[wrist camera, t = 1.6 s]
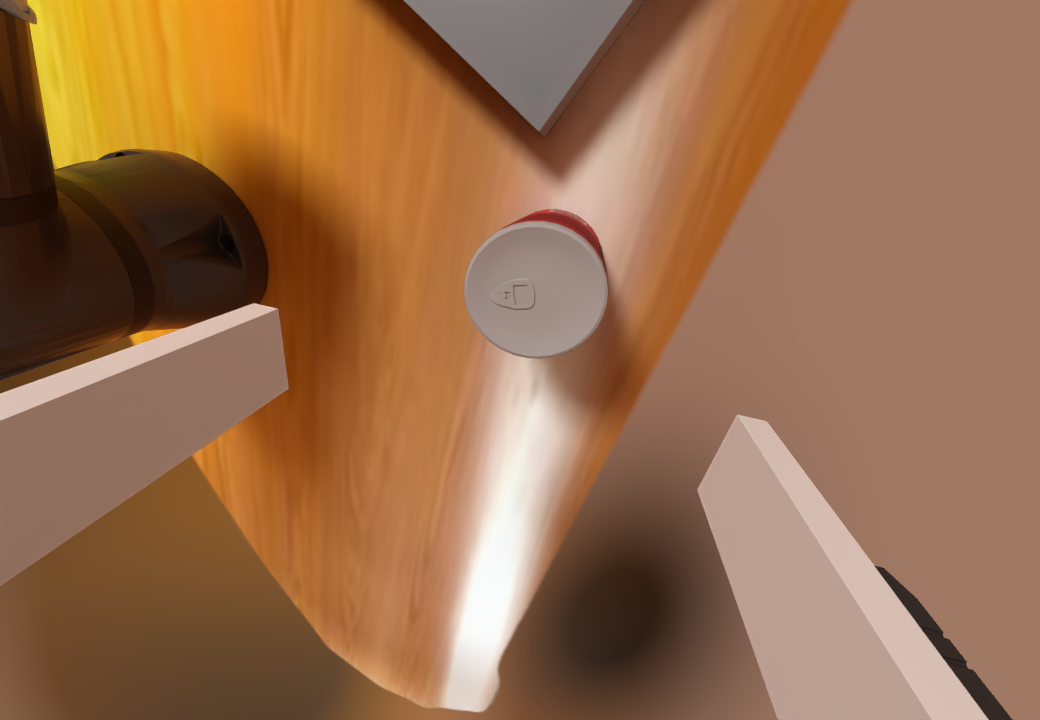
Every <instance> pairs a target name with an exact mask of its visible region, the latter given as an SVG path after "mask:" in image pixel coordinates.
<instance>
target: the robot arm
mask: <svg viewBox="0 0 1040 720" xmlns="http://www.w3.org/2000/svg"><path fill="white" fill-rule="evenodd" d="M29 22H30V23H32V24H37V19H36V14H35V12H34V11H33V10H32V9H31V8H30V7H29V6H28V4H27V0H0V380H3V379H6V378H8V377H11V376H14V375H17V374H20V373H23V372H26V371H29V370H31V369H34V368H37V367H40V366H43V365H46V364H48V363H51V362H54V361H57V360H60V359H63V358H65V357H69V356H71V355H74V354H77V353H80V352H83V351H86V350H89V349H91V348H94V347H97V346H100V345H103V344H106V343H109V342H111V341H114V340H117V339H120V338H123V337H126V336H129V335H132V334H135V333H138V332H141V331H151V330H165V329H179V328H183V329H180V330H178V331H175V332H172V333H169V334H166V335H164V336H161V337H158V338H155V339H152V340H150V341H147V342H144V343H141V344H138V345H136V346H133V347H130V348H127V349H124V350H122V351H119V352H116V353H113V354H110V355H108V356H105V357H102V358H99V359H96V360H94V361H91V362H88V363H85V364H82V365H79V366H77V367H74V368H71V369H68V370H65V371H63V372H60V373H57V374H54V375H52V376H49V377H46V378H43V379H40V380H37V381H35V382H32V383H29V384H26V385H24V386H21V387H18V388H15V389H12V390H10V391H7V392H4V393H1V394H0V586H1V585H2V584H4V583H5V582H7V581H8V580H10V579H11V578H12V577H14V576H15V575H17V574H18V573H20V572H21V571H23V570H24V569H25V568H27V567H29V566H30V565H31V564H33V563H34V562H36V561H37V560H39V559H40V558H42V557H43V556H45V555H46V554H48V553H49V552H51V551H52V550H53V549H55V548H56V547H58V546H59V545H61V544H62V543H64V542H65V541H67V540H68V539H70V538H71V537H72V536H74V535H75V534H77V533H78V532H80V531H81V530H83V529H84V528H86V527H87V526H89V525H90V524H92V523H93V522H95V521H96V520H97V519H98V518H100V517H102V516H103V515H105V514H106V513H108V512H109V511H110V510H112V509H113V508H115V507H116V506H118V505H119V504H121V503H122V502H124V501H125V500H127V499H128V498H130V497H131V496H133V495H134V494H136V493H137V492H138V491H140V490H141V489H143V488H144V487H146V486H147V485H149V484H150V483H152V482H153V481H155V480H156V479H157V478H159V477H160V476H162V475H163V474H165V473H166V472H168V471H169V470H171V469H172V468H174V467H175V466H176V465H178V464H179V463H181V462H182V461H184V460H185V459H187V458H188V457H190V456H191V455H193V454H194V453H196V452H197V451H198V450H200V449H201V448H203V447H204V446H206V445H207V444H209V443H210V442H212V441H213V440H215V439H216V438H218V437H219V436H220V435H222V434H223V433H225V432H226V431H228V430H229V429H231V428H232V427H234V426H235V425H237V424H238V423H239V422H241V421H242V420H244V419H245V418H247V417H248V416H250V415H251V414H253V413H254V412H256V411H257V410H259V409H260V408H261V407H263V406H264V405H266V404H267V403H269V402H270V401H272V400H273V399H275V398H276V397H278V396H279V395H281V394H282V393H283V392H285V391H286V390H288V389H289V385H288V378H287V370H286V363H285V355H284V348H283V340H282V333H281V325H280V318H279V310H278V309H277V308H273V307H269V306H264V305H260V304H259V303H260V301H261V299H262V297H263V295H264V292H265V289H266V284H267V260H266V254H265V250H264V246H263V243H262V240H261V237H260V234H259V232H258V230H257V227H256V225H255V223H254V221H253V220H252V218H251V216H250V214H249V213H248V211H247V210H246V208H245V207H244V205H243V204H242V202H241V201H240V200H239V198H238V197H237V196H236V195H235V193H234V192H233V191H232V190H231V189H230V188H229V187H228V186H227V185H226V184H225V183H224V182H223V181H222V180H221V179H220V178H219V177H218V176H216V175H215V174H214V173H213V172H211V171H210V170H209V169H207V168H206V167H204V166H203V165H201V164H199V163H198V162H196V161H194V160H192V159H190V158H188V157H185V156H183V155H180V154H177V153H173V152H167V151H157V150H143V149H127V150H120V151H116V152H113V153H110V154H107V155H105V156H103V157H101V158H100V159H99V160H96V161H87V162H82V163H77V164H73V165H70V166H66V167H63V168H59V169H56V170H54V168H53V162H52V156H51V150H50V144H49V138H48V132H47V126H46V120H45V115H44V109H43V103H42V97H41V91H40V85H39V79H38V73H37V67H36V61H35V55H34V49H33V43H32V37H31V31H30V24H29ZM697 491H698V493H699V496H700V499H701V502H702V505H703V508H704V510H705V513H706V516H707V519H708V522H709V525H710V528H711V530H712V533H713V536H714V539H715V542H716V545H717V548H718V550H719V553H720V556H721V559H722V562H723V565H724V567H725V570H726V573H727V576H728V579H729V581H730V585H731V587H732V590H733V593H734V596H735V599H736V602H737V605H738V607H739V610H740V613H741V616H742V619H743V622H744V624H745V627H746V630H747V633H748V636H749V639H750V642H751V644H752V647H753V650H754V653H755V656H756V659H757V661H758V664H759V667H760V670H761V673H762V675H763V678H764V681H765V684H766V687H767V690H768V693H769V696H770V698H771V701H772V704H773V707H774V710H775V713H776V716H777V718H778V720H1012V719H1011V718H1010V716H1009V715H1008V714H1007V712H1006V711H1005V710H1004V709H1003V707H1002V706H1001V705H1000V703H999V702H998V701H997V700H996V698H995V697H994V696H993V695H992V693H991V692H990V691H989V689H988V688H987V687H986V686H985V684H984V683H983V682H982V681H981V679H980V678H979V677H978V676H977V674H976V673H975V672H974V671H973V670H971V669H968V668H967V666H966V663H967V662H966V660H965V659H964V658H963V656H962V655H961V654H960V653H959V651H958V650H957V649H956V648H955V646H954V645H953V644H952V643H951V641H950V640H949V639H946V638H944V637H943V631H942V630H941V629H940V628H939V626H938V625H937V624H936V622H935V621H934V620H933V618H932V617H931V616H930V615H929V613H928V612H927V611H926V610H925V608H924V607H923V606H922V604H921V603H920V602H919V601H918V599H917V598H915V596H914V595H912V594H911V593H910V592H909V591H908V590H907V589H906V588H905V587H904V586H903V585H901V584H900V583H899V582H898V581H897V580H896V579H895V578H894V577H893V576H892V575H891V574H890V573H888V572H887V571H886V570H885V569H884V568H881V567H877V566H874V565H873V564H872V562H871V561H870V560H869V558H868V557H867V556H866V554H865V553H864V552H863V550H862V549H861V547H860V546H859V545H858V544H857V542H856V541H855V539H854V538H853V537H852V535H851V534H850V533H849V531H848V530H847V529H846V527H845V526H844V525H843V523H842V522H841V521H840V519H839V518H838V517H837V515H836V514H835V513H834V511H833V510H832V508H831V507H830V506H829V504H828V503H827V502H826V500H825V499H824V498H823V496H822V495H821V494H820V492H819V491H818V490H817V488H816V487H815V486H814V484H813V483H812V482H811V480H810V479H809V478H808V476H807V475H806V474H805V472H804V471H803V470H802V468H801V467H800V465H799V464H798V463H797V461H796V460H795V459H794V457H793V456H792V455H791V453H790V452H789V451H788V449H787V448H786V447H785V445H784V444H783V443H782V441H781V440H780V439H779V437H778V436H777V435H776V433H775V432H774V431H773V429H772V428H771V426H770V425H769V424H768V422H766V421H762V420H758V419H753V418H749V417H745V416H741V415H737V416H736V418H735V420H734V422H733V423H732V425H731V427H730V429H729V431H728V433H727V435H726V437H725V439H724V441H723V443H722V444H721V446H720V448H719V450H718V452H717V454H716V456H715V458H714V459H713V461H712V463H711V465H710V467H709V469H708V471H707V473H706V474H705V476H704V478H703V480H702V482H701V484H700V486H699V488H698V490H697Z"/></svg>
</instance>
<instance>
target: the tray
mask: <svg viewBox="0 0 1040 720" xmlns="http://www.w3.org/2000/svg"><path fill="white" fill-rule="evenodd" d="M403 1H404V2H405V3H406V4H408V5H409V6H410V7H411V8H412V9H413V10H414V11H415V12H416V13H417V14H418V15H419V16H420V17H421V18H422V19H423V20H424V21H425V22H426V23H427V24H428V25H429V26H430V27H431V28H432V29H433V30H434V31H435V32H436V33H437V34H438V35H439V36H440V37H441V38H442V39H444V40H445V41H446V42H447V43H448V44H449V45H450V46H451V47H452V48H453V49H454V50H455V51H456V52H457V53H458V54H459V55H460V56H461V57H462V58H463V59H464V60H465V61H466V62H467V63H468V64H469V65H470V66H471V67H472V68H473V69H474V70H475V71H476V72H477V73H479V74H480V75H481V76H482V77H483V78H484V79H485V80H486V81H487V82H488V83H489V84H490V85H491V86H492V87H493V88H494V89H495V90H496V91H497V92H498V93H499V94H500V95H501V96H502V97H503V98H504V99H505V100H506V101H507V102H508V103H509V104H510V105H511V106H512V107H513V108H515V109H516V110H517V111H518V112H519V113H520V114H521V115H522V116H523V117H524V118H525V119H526V120H527V121H528V122H529V123H530V124H531V125H532V126H533V127H534V128H535V129H536V130H537V131H538V132H539V133H540V134H541V135H542V136H543V137H544V138H545V137H546V135H547V134H548V133H549V131H550V130H551V128H552V127H553V126H554V124H555V123H556V122H557V120H558V119H559V117H560V116H561V115H562V113H563V112H564V111H565V109H566V108H567V106H568V105H569V104H570V102H571V101H572V100H573V98H574V97H575V95H576V94H577V93H578V91H579V90H580V89H581V87H582V86H583V84H584V83H585V82H586V80H587V79H588V78H589V76H590V75H591V73H592V72H593V71H594V69H595V68H596V67H597V65H598V64H599V62H600V61H601V60H602V58H603V57H604V56H605V54H606V53H607V51H608V50H609V49H610V47H611V46H612V45H613V43H614V42H615V41H616V39H617V38H618V36H619V35H620V34H621V32H622V31H623V30H624V28H625V27H626V25H627V24H628V23H629V21H630V20H631V19H632V17H633V16H634V14H635V13H636V12H637V10H638V9H639V8H640V6H641V5H642V3H643V2H644V1H645V0H403Z"/></svg>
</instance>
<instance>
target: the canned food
mask: <svg viewBox="0 0 1040 720" xmlns="http://www.w3.org/2000/svg"><path fill="white" fill-rule="evenodd" d="M608 290H609V288H608V279H607V271H606V266H605V262H604V258H603V253H602V249H601V246H600V243H599V240H598V237H597V236H596V234H595V232H594V231H593V229H592V228H591V227H590V226H589V225H588V224H587V223H586V221H584V220H583V219H581V218H580V217H578V216H577V215H574V214H572V213H570V212H567V211H562V210H557V209H554V210H542V211H537V212H535V213H532V214H530V215H528V216H526V217H524V218H522V219H520V220H518V221H516V222H514V223H512V224H510V225H508V226H506V227H504V228H502V229H501V230H499V231H498V232H497V233H495V234H494V235H492V236H491V237H489V238H488V239H487V240H486V241H485V242H484V243H483V245H482V246H481V247H480V248H479V249H478V250H477V252H476V254H475V255H474V257H473V258H472V260H471V262H470V264H469V267H468V270H467V273H466V277H465V285H464V292H465V302H466V306H467V309H468V313H469V315H470V317H471V319H472V321H473V323H474V325H475V326H476V327H477V329H478V330H479V331H480V333H481V334H482V335H483V336H484V337H485V338H486V339H488V340H489V341H490V342H491V343H492V344H494V345H495V346H497V347H498V348H500V349H502V350H504V351H506V352H508V353H511V354H513V355H517V356H521V357H525V358H548V357H554V356H558V355H561V354H564V353H567V352H569V351H571V350H573V349H574V348H576V347H578V346H579V345H580V344H582V343H583V342H584V341H586V340H587V339H588V338H589V337H590V336H591V334H592V333H593V332H594V331H595V330H596V328H597V327H598V325H599V323H600V321H601V319H602V318H603V315H604V311H605V308H606V305H607V300H608Z"/></svg>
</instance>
